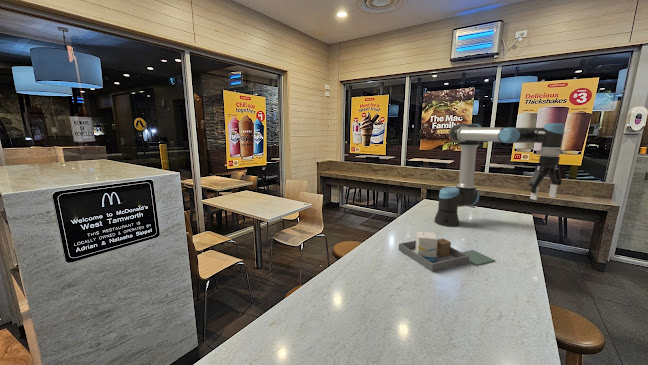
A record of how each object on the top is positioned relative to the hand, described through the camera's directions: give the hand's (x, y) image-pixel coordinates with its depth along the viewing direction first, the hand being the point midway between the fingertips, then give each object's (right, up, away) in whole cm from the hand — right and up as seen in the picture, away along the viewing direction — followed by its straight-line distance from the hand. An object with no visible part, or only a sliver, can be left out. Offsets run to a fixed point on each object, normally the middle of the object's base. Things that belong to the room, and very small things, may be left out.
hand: (542, 198), depth 135 cm
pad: (-37, -29, -4) cm, 47 cm away
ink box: (-60, -29, -4) cm, 67 cm away
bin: (-57, -28, -2) cm, 63 cm away
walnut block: (-51, -28, 0) cm, 58 cm away
